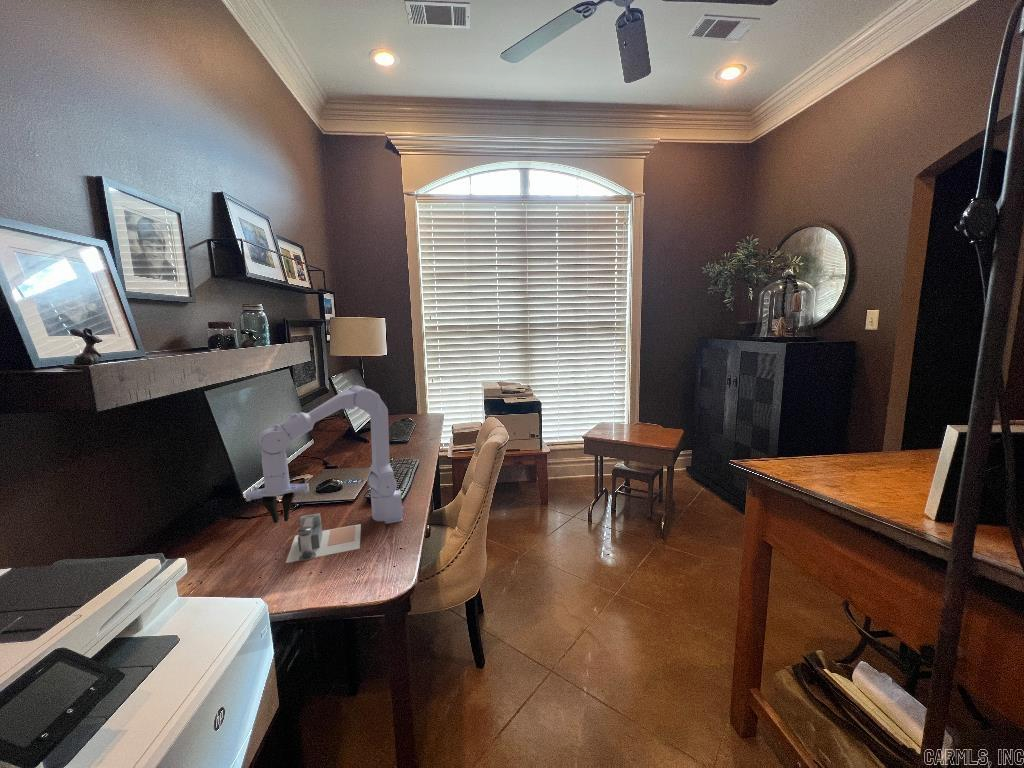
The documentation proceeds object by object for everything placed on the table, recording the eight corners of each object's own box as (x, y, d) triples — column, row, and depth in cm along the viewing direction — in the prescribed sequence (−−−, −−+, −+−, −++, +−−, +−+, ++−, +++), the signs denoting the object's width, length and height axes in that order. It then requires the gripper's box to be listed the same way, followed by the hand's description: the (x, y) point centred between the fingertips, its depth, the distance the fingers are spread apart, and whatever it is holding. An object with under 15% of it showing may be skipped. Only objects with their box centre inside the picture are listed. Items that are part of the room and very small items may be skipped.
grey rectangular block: (322, 534, 113) (321, 522, 112) (319, 547, 106) (318, 534, 105) (303, 538, 111) (302, 525, 110) (299, 551, 104) (297, 537, 104)
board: (361, 526, 119) (360, 523, 118) (359, 553, 105) (359, 550, 104) (295, 538, 112) (295, 535, 112) (285, 568, 99) (284, 564, 98)
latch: (322, 534, 112) (319, 510, 111) (317, 556, 101) (314, 530, 100) (303, 537, 111) (300, 513, 109) (295, 561, 100) (292, 534, 98)
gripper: (308, 464, 109) (313, 509, 111) (248, 471, 104) (254, 518, 106) (304, 473, 102) (309, 520, 104) (240, 481, 97) (247, 531, 99)
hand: (281, 520), depth 104 cm, fingers closed
